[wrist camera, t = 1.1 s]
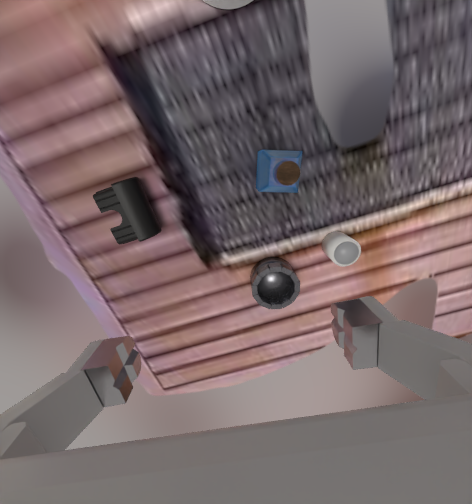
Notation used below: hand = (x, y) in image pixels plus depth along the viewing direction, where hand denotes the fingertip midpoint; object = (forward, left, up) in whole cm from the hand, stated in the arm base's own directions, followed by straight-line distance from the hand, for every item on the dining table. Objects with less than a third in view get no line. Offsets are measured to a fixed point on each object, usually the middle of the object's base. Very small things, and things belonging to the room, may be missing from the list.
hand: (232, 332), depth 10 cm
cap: (-1, +22, -37) cm, 43 cm away
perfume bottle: (-8, +4, -37) cm, 38 cm away
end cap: (+9, -16, -37) cm, 42 cm away
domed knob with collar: (+11, +14, -37) cm, 41 cm away
